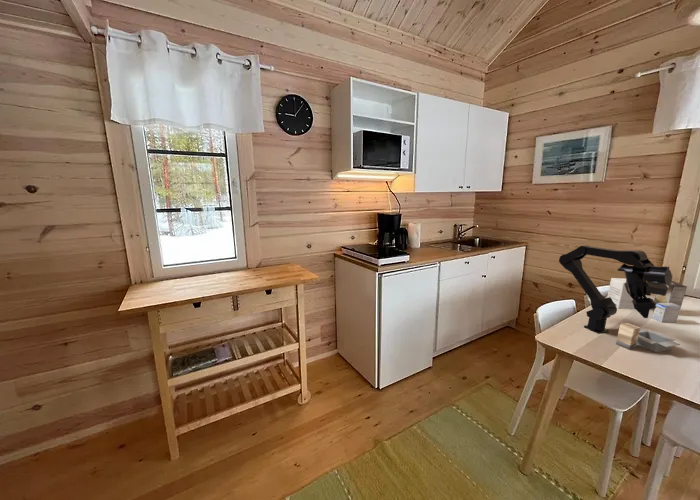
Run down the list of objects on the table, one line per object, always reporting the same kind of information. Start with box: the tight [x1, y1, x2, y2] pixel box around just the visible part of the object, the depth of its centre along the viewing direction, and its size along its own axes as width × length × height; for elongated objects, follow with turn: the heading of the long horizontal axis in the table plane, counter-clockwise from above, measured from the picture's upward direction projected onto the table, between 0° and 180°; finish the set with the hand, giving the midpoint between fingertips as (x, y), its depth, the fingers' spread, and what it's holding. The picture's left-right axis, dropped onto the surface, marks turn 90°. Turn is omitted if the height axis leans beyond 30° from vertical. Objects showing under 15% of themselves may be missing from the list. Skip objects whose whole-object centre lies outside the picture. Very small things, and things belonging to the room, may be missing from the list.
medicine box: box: [652, 303, 682, 323], centre depth 144 cm, size 8×4×9 cm, turn 92°
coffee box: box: [653, 280, 688, 310], centre depth 154 cm, size 9×6×16 cm
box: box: [615, 322, 641, 350], centre depth 119 cm, size 4×4×9 cm
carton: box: [636, 328, 681, 353], centre depth 120 cm, size 14×14×4 cm
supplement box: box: [606, 277, 636, 310], centre depth 161 cm, size 9×9×15 cm
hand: (642, 311), depth 124 cm, fingers open, 9 cm apart
